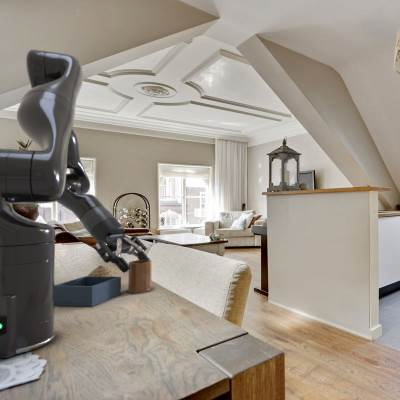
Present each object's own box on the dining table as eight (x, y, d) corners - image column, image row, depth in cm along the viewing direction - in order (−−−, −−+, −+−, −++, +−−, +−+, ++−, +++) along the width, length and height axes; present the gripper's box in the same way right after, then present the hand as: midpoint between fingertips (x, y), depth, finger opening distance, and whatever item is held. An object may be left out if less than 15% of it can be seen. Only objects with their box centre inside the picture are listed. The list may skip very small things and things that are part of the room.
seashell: (123, 269, 104) (108, 264, 97) (119, 286, 102) (103, 282, 94) (100, 269, 105) (83, 263, 97) (95, 286, 102) (77, 282, 95)
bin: (92, 306, 73) (92, 286, 73) (51, 305, 74) (52, 285, 74) (120, 294, 83) (121, 276, 83) (85, 293, 84) (85, 276, 84)
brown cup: (143, 293, 84) (143, 263, 84) (123, 292, 84) (123, 263, 84) (155, 287, 89) (155, 259, 89) (136, 287, 90) (136, 259, 90)
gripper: (90, 217, 82) (128, 262, 79) (129, 215, 96) (162, 253, 93) (72, 237, 82) (110, 282, 80) (113, 232, 97) (146, 271, 94)
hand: (138, 267), depth 87 cm, fingers open, 8 cm apart
